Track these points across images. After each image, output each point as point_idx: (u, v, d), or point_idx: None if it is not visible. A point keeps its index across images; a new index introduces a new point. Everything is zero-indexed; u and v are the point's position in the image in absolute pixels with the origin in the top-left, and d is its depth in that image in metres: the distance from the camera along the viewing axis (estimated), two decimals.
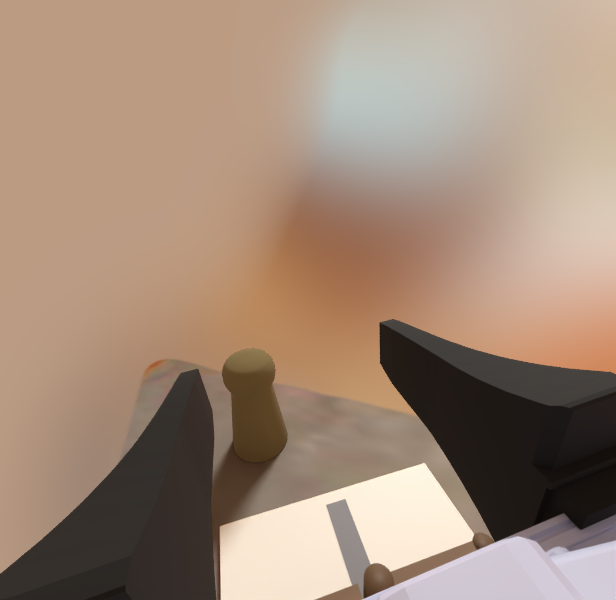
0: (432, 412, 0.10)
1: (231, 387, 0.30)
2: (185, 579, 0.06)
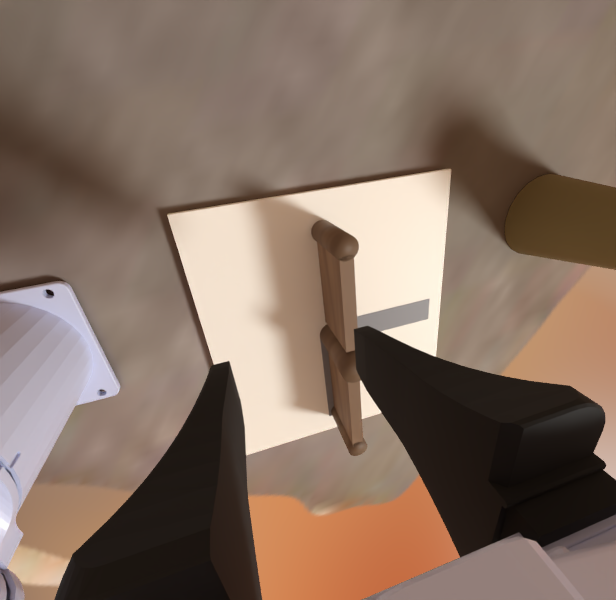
0: (402, 422, 0.10)
1: None
2: (240, 558, 0.06)
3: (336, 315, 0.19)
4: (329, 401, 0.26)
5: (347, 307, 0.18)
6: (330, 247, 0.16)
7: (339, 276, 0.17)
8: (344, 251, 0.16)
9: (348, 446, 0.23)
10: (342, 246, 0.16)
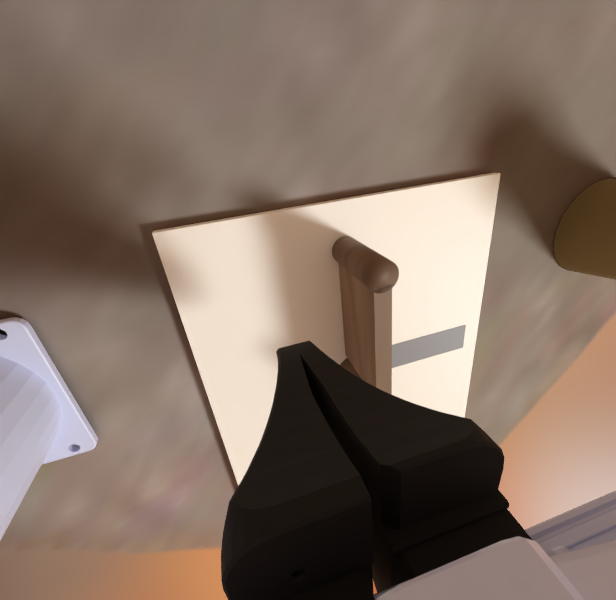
0: None
1: None
2: None
3: (363, 354, 0.16)
4: None
5: (380, 348, 0.14)
6: (362, 275, 0.13)
7: (372, 311, 0.13)
8: (380, 281, 0.12)
9: None
10: (378, 274, 0.12)
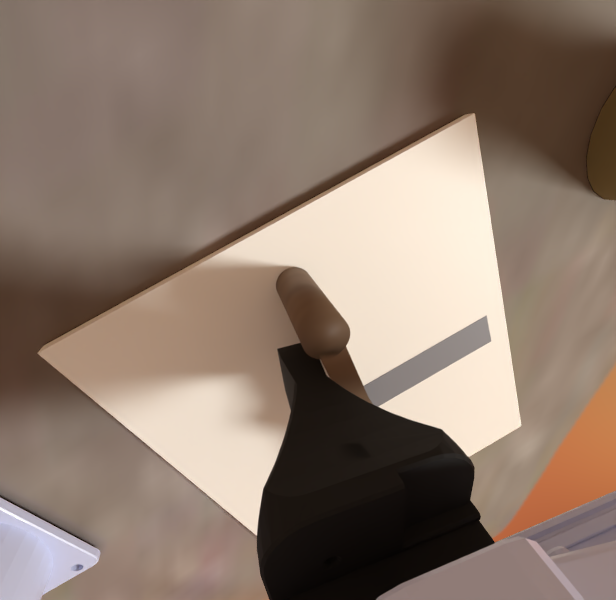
0: None
1: None
2: None
3: None
4: None
5: None
6: None
7: (330, 377, 0.10)
8: (325, 343, 0.09)
9: None
10: (318, 337, 0.09)
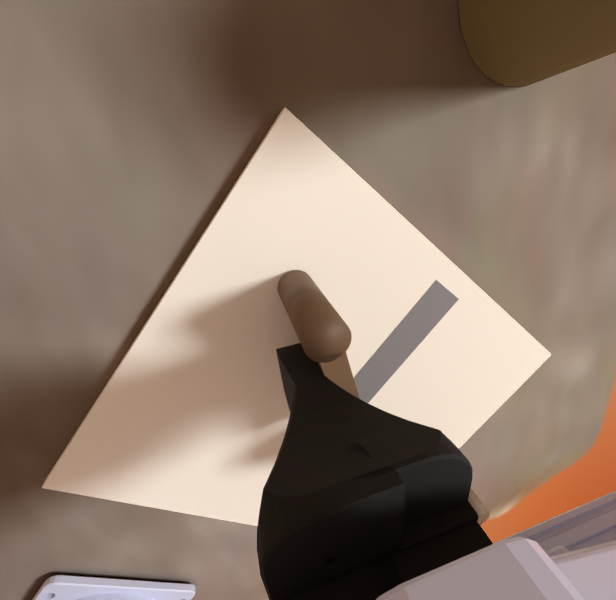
0: None
1: None
2: None
3: None
4: None
5: None
6: (300, 342, 0.09)
7: None
8: (326, 347, 0.09)
9: None
10: (320, 340, 0.09)
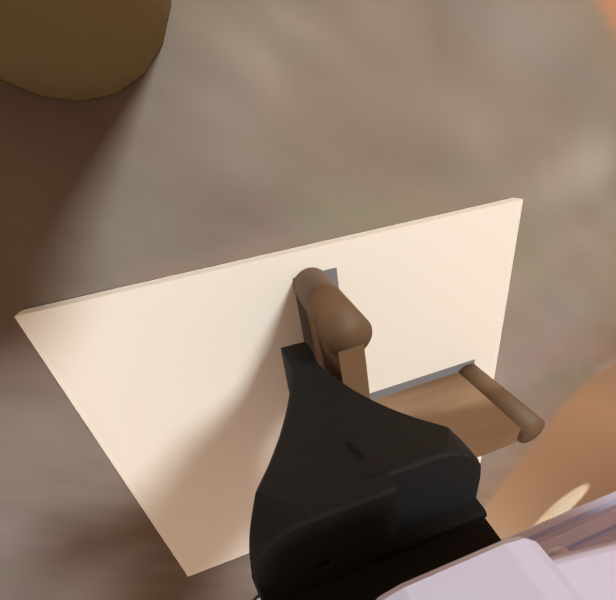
0: None
1: None
2: None
3: None
4: None
5: None
6: (321, 335, 0.09)
7: (341, 378, 0.10)
8: (347, 342, 0.09)
9: None
10: (342, 334, 0.09)
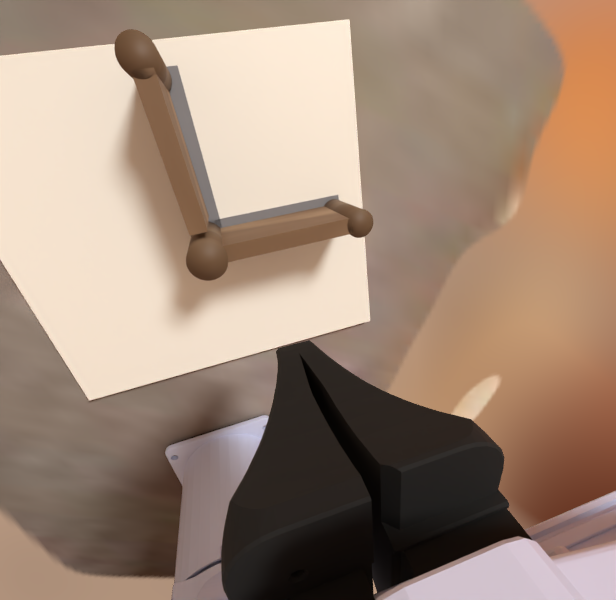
0: None
1: None
2: None
3: None
4: None
5: (170, 160, 0.13)
6: (119, 59, 0.11)
7: (144, 108, 0.12)
8: (136, 60, 0.11)
9: (354, 236, 0.16)
10: (130, 51, 0.11)
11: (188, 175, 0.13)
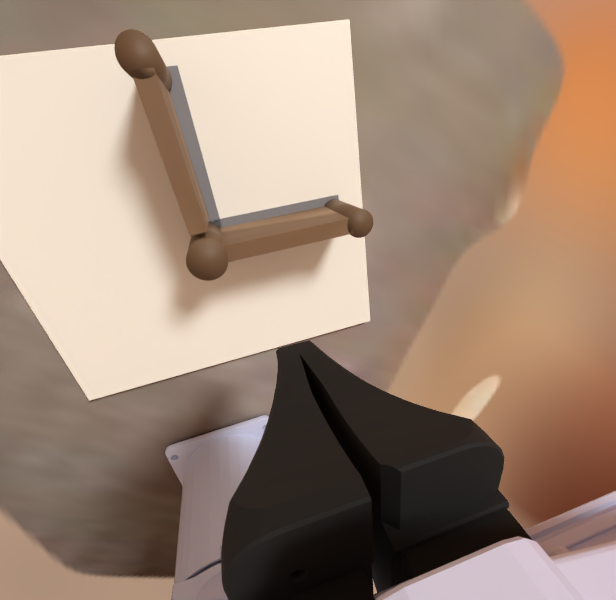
0: None
1: None
2: None
3: None
4: None
5: (170, 160, 0.13)
6: (119, 59, 0.11)
7: (144, 108, 0.12)
8: (136, 60, 0.11)
9: (354, 236, 0.16)
10: (130, 51, 0.11)
11: (188, 175, 0.13)
